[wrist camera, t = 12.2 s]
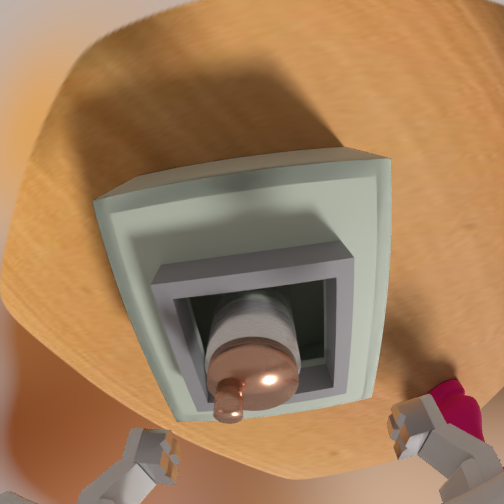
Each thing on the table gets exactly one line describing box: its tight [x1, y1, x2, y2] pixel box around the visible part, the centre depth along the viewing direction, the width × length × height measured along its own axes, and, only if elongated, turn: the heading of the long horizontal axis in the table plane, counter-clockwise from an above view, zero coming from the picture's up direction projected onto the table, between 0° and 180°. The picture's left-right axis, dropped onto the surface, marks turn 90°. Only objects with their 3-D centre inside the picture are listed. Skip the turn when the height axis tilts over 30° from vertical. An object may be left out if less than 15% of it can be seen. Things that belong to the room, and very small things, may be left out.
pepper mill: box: [428, 380, 504, 469], centre depth 21 cm, size 7×7×20 cm
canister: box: [205, 285, 301, 424], centre depth 16 cm, size 4×4×12 cm
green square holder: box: [92, 147, 392, 422], centre depth 18 cm, size 14×16×9 cm
